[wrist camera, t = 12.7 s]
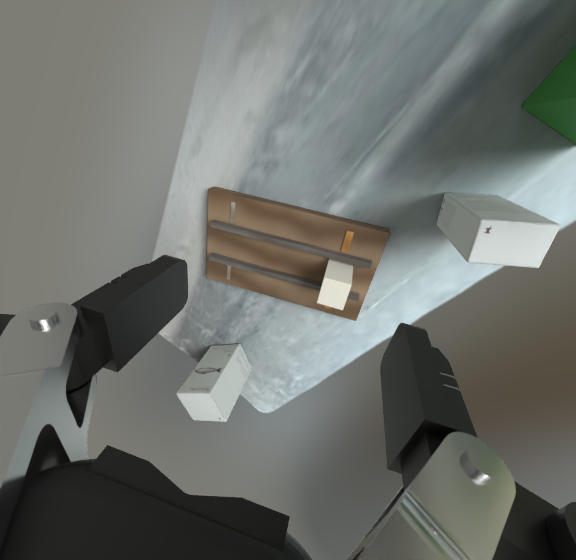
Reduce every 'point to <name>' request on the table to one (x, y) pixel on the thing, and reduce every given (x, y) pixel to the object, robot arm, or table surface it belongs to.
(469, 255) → the skincare box
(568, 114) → the hardback book
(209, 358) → the supplement box
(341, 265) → the fader tab
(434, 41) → the table surface
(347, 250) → the fader console
